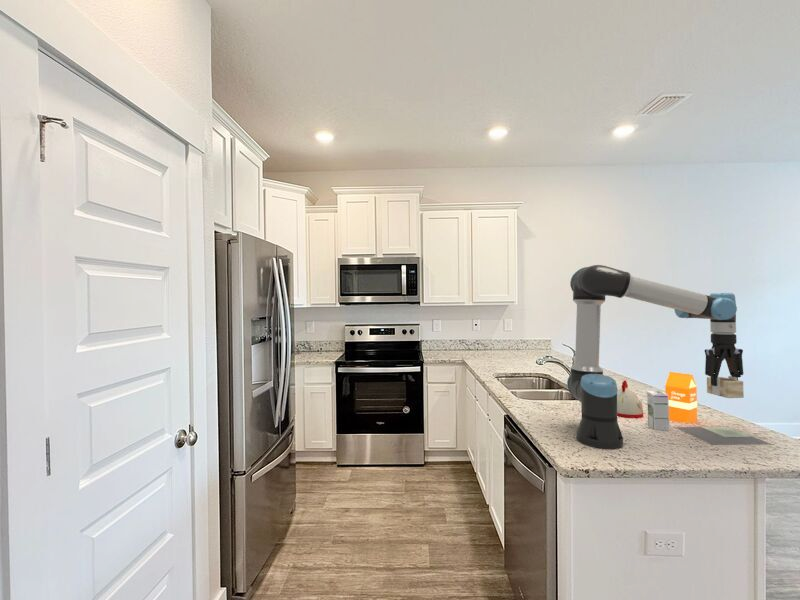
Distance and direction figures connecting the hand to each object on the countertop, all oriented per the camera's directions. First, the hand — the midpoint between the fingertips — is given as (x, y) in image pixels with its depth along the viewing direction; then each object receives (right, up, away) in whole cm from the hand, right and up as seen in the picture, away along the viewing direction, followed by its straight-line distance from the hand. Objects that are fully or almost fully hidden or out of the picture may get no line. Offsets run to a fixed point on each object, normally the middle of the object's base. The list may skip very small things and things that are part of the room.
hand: (724, 394), depth 146 cm
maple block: (0, 0, 0) cm, 0 cm away
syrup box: (-21, -16, +7) cm, 27 cm away
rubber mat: (-4, -15, -3) cm, 16 cm away
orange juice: (-4, -16, +17) cm, 24 cm away
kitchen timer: (-22, -16, +28) cm, 39 cm away
